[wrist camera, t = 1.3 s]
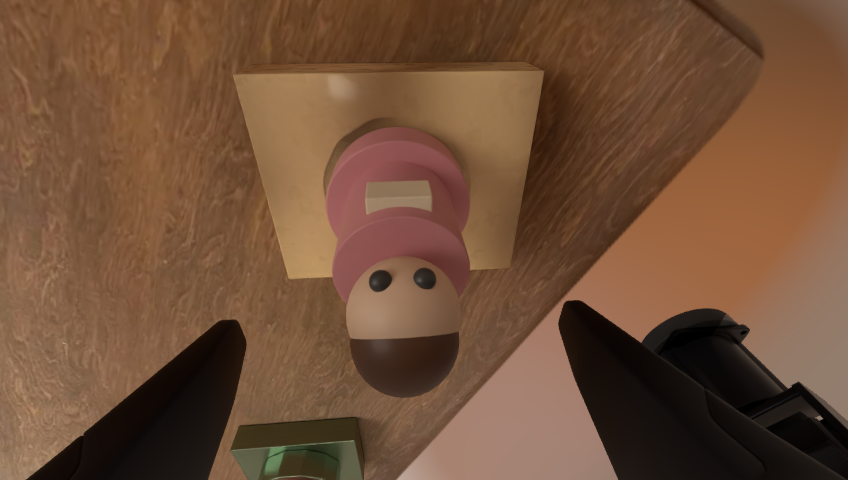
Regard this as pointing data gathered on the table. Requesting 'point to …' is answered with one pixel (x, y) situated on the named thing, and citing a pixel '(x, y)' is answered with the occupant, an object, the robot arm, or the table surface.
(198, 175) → the table surface
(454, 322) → the doll
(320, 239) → the doll stand
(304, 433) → the green button box
